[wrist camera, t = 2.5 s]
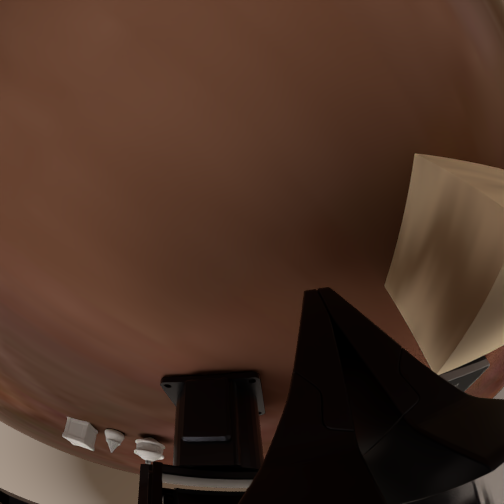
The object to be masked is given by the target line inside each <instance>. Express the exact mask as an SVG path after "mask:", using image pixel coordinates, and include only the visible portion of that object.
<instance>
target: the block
mask: <svg viewBox="0 0 504 504" xmlns="http://www.w3.org/2000/svg"><path fill="white" fill-rule="evenodd" d="M384 287H385V288H386V290H387V291H388V293H389V295H390V296H391V298H392V300H393V301H394V303H395V304H396V306H397V308H398V310H399V311H400V313H401V315H402V316H403V318H404V320H405V322H406V323H407V325H408V327H409V329H410V330H411V332H412V334H413V336H414V338H415V339H416V341H417V343H418V345H419V347H420V349H421V351H422V352H423V354H424V356H425V358H426V360H427V362H428V364H429V366H430V368H431V370H432V371H433V372H435V373H436V374H438V375H440V374H443V373H445V372H448V371H450V370H453V369H455V368H457V367H460V366H462V365H464V364H466V363H469V362H471V361H473V360H475V359H477V358H479V357H481V356H483V355H485V354H487V353H489V352H491V351H493V350H495V349H497V348H499V347H501V346H503V345H504V169H500V168H496V167H491V166H487V165H482V164H478V163H473V162H468V161H462V160H457V159H451V158H445V157H439V156H432V155H425V154H417V153H415V155H414V162H413V168H412V174H411V180H410V186H409V191H408V196H407V201H406V206H405V211H404V215H403V220H402V224H401V228H400V232H399V236H398V240H397V244H396V248H395V251H394V255H393V258H392V262H391V265H390V269H389V272H388V275H387V279H386V282H385V285H384Z"/></svg>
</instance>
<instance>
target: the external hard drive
mask: <svg viewBox="0 0 504 504" xmlns="http://www.w3.org/2000/svg"><path fill="white" fill-rule="evenodd" d="M489 366H490V364H489V362H488V360H487V359H486V357H485V356H481V357H479V358H477V359H475V360H473V361H471V362H469V363H466V364H464V365H462V366H460V367H457V368H455V369H453V370H450V371H448V372H445V373H443V374H440V375H439V376H441V377H442V378H444V379H445V380H447V381H448V382H450V383H451V384H453V385H454V386H455V387H457V388H458V389H460V390H461V391H463V392H464V391H465V390H466V389H467V388H469V387H470V386H471V385H472V384H473V383H474V382H475V381H476V380H477V379H478V378H479V377H480V376H481V374H482V373H483V372H484V371H485V370H486V369H487V368H488V367H489Z"/></svg>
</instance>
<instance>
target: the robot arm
mask: <svg viewBox="0 0 504 504" xmlns="http://www.w3.org/2000/svg"><path fill="white" fill-rule="evenodd" d="M401 348H402V347H401V346H400V345H399V344H398V343H397V342H395V341H394V340H393V339H392V338H391V337H389V336H388V335H387V334H386V333H385V332H383V331H382V330H381V329H380V328H379V327H377V326H376V325H375V324H374V323H373V322H371V321H370V320H369V319H368V318H367V317H365V316H364V315H363V314H362V313H360V312H359V311H358V310H357V309H356V308H354V307H353V306H352V305H351V304H349V303H348V302H347V301H346V300H345V299H343V298H342V297H341V296H340V295H338V294H337V293H336V292H335V291H333V290H332V289H331V288H329V287H326V288H319V289H317V290H316V289H312V290H306V291H304V296H303V304H302V312H301V320H300V327H299V334H298V341H297V348H296V355H295V361H294V368H293V374H292V379H291V385H290V389H289V394H288V398H287V401H286V405H285V408H284V411H283V414H282V417H281V419H280V422H279V425H278V427H277V430H276V432H275V435H274V437H273V440H272V442H271V445H270V447H269V450H268V452H267V455H266V457H265V459H264V458H263V449H262V440H261V430H260V421H259V415H263V414H265V408H264V401H263V395H262V388H261V382H260V375H259V373H257V372H246V373H236V374H224V375H210V376H191V377H164V378H162V379H161V383H160V385H161V387H162V388H163V390H164V391H165V393H166V394H167V395H168V397H169V398H170V399H171V401H172V402H173V403H174V405H175V406H176V418H175V435H174V456H173V466H172V465H165V464H163V463H161V462H155V461H153V465H152V464H141V467H140V482H139V497H138V504H162V502H163V504H504V400H503V399H489V398H478V397H474V396H471V395H469V394H467V393H465V392H463V391H461V390H460V389H458V388H457V387H455V386H454V385H453V384H451V383H450V382H448V381H447V380H445V379H444V378H442V377H441V376H439V375H438V374H436V373H435V372H433V371H432V370H431V369H429V368H428V367H426V366H425V365H424V364H422V363H421V362H420V361H419V360H417V359H416V358H415V357H414V356H412V355H411V354H410V353H409V352H407V351H406V350H405V349H404V348H402V349H401ZM162 482H163V483H171V484H179V485H188V486H199V487H216V488H217V487H218V488H248V489H247V490H246V492H226V491H224V492H223V491H201V490H190V489H180V488H174V489H169V488H162ZM0 504H38V503H35V502H32V501H30V500H27V499H24V498H22V497H19V496H17V495H15V494H12V493H10V492H8V491H6V490H4V489H1V488H0Z"/></svg>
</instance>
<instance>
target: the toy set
mask: <svg viewBox="0 0 504 504" xmlns="http://www.w3.org/2000/svg"><path fill="white" fill-rule="evenodd" d="M97 433H98V431H97V430H96V429H95V428H94V427H93V426H92V425H91V424H90V423H89V422H86V421H81V420H77V419H73V418H70V417H67V423H66V427H65V430H64V433H63V435H62V436H63V437H64V438H66V439H67V440H69V441H70V442H71V443H72V444H73V445H78V446H81V447H84V448H87V449H90V450H92V451H94V444H95V439H96V434H97ZM105 435H106V441H107V442H108V445H109V448H110V451H111V453H112V452H113V451H114V450H115V448H116V447H117V446H118V445H121V444H120V443H121V442H122V441H123V440H124V435H123V434H122V433H121V432H119V431H117V430H113V429H106V430H105ZM135 443H137V446H136V447H137V448H136V450H134V453H135V454H137V455H139V456H140V457H141V458H142V459H144V460H146V462H145V463H146V464H151V461H156V460H158V459H164V456H163V455H162V453H163V449H165V446H164V445H163V444H161V443H159V442H158V441H156V440H155V439H153V437H148V438H144V439H136V441H135Z"/></svg>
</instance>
